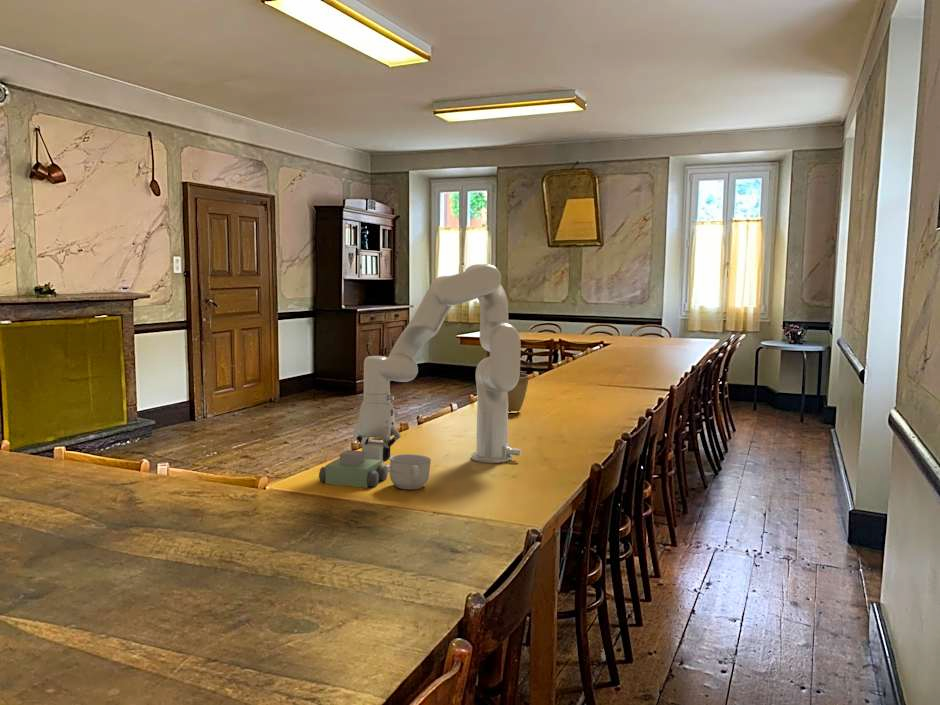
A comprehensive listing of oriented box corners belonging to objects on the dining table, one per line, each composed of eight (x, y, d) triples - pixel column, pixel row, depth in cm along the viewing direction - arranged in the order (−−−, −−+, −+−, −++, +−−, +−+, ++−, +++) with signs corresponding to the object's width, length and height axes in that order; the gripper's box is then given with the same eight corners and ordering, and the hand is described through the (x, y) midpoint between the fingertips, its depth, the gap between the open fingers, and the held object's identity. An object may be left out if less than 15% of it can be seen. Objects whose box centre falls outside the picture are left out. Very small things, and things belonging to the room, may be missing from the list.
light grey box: (388, 459, 213) (388, 441, 213) (379, 465, 207) (379, 446, 206) (371, 457, 215) (371, 439, 214) (361, 463, 208) (361, 444, 208)
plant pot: (486, 410, 306) (487, 373, 305) (517, 408, 313) (518, 371, 311) (502, 416, 293) (503, 377, 291) (534, 414, 299) (535, 376, 298)
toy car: (398, 470, 207) (398, 443, 207) (373, 488, 189) (373, 458, 188) (348, 466, 211) (348, 439, 211) (319, 483, 193) (318, 454, 192)
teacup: (390, 481, 196) (390, 452, 196) (430, 481, 197) (430, 452, 196) (388, 496, 183) (388, 465, 182) (431, 496, 183) (431, 465, 183)
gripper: (408, 398, 211) (408, 459, 213) (354, 394, 215) (354, 454, 217) (399, 402, 204) (399, 465, 206) (344, 398, 208) (343, 460, 210)
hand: (376, 458), depth 211 cm, fingers closed on light grey box, 5 cm apart
